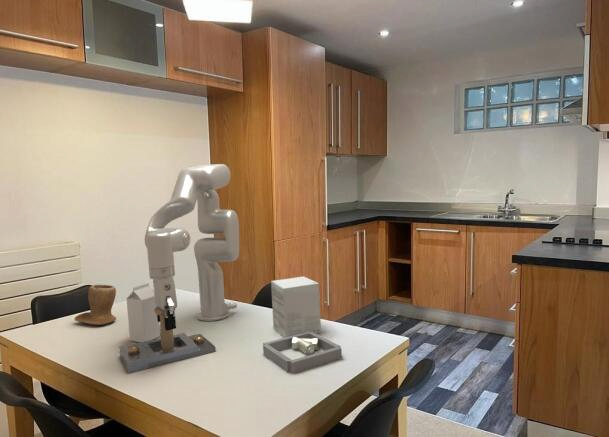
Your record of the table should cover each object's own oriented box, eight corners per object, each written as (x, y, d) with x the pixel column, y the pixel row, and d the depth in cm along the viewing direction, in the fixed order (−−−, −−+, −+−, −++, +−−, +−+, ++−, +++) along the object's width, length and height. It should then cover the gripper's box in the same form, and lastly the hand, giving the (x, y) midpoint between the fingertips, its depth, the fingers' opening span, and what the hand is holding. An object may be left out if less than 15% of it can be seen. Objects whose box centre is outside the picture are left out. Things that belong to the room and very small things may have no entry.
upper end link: (184, 341, 149) (183, 328, 148) (198, 355, 136) (197, 341, 135) (120, 356, 138) (118, 342, 138) (128, 373, 125) (127, 357, 125)
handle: (181, 351, 139) (178, 306, 138) (163, 358, 135) (160, 311, 133) (172, 348, 143) (169, 303, 141) (154, 355, 138) (151, 308, 136)
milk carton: (160, 336, 155) (156, 283, 153) (145, 343, 148) (140, 288, 147) (145, 334, 158) (141, 282, 156) (129, 341, 151) (125, 287, 150)
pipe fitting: (315, 357, 132) (319, 347, 138) (314, 345, 131) (318, 336, 138) (289, 356, 134) (294, 346, 140) (288, 344, 133) (294, 335, 139)
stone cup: (124, 320, 176) (121, 283, 175) (98, 329, 166) (94, 290, 164) (100, 315, 183) (97, 280, 182) (73, 324, 173) (70, 287, 172)
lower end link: (200, 337, 151) (200, 329, 151) (215, 351, 139) (215, 341, 138) (138, 352, 141) (137, 342, 141) (148, 368, 128) (147, 357, 128)
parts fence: (311, 339, 145) (310, 330, 145) (344, 357, 129) (343, 347, 129) (261, 353, 135) (260, 343, 135) (290, 374, 120) (289, 363, 120)
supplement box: (306, 322, 163) (304, 275, 162) (321, 332, 151) (319, 282, 150) (272, 328, 158) (270, 280, 156) (285, 339, 146) (283, 288, 144)
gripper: (182, 274, 131) (186, 330, 133) (167, 265, 145) (171, 315, 147) (156, 279, 127) (161, 336, 129) (143, 269, 142) (148, 320, 143)
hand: (166, 325), depth 138 cm, fingers open, 9 cm apart
